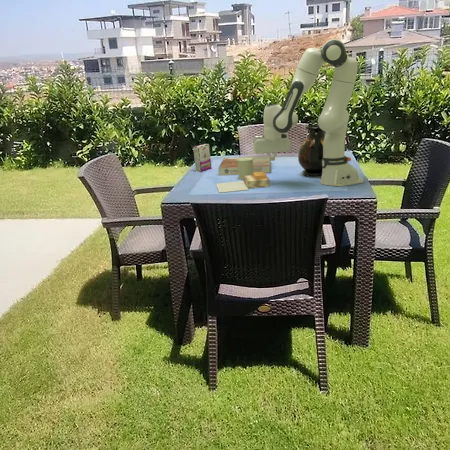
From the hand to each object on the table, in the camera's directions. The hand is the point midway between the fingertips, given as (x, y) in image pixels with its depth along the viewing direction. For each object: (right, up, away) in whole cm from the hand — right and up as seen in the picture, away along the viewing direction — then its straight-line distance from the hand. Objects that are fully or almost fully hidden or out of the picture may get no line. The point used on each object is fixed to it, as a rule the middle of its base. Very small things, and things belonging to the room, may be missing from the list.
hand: (272, 160), depth 244 cm
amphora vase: (+28, -6, +17) cm, 33 cm away
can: (-13, -8, +20) cm, 25 cm away
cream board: (-22, -15, +2) cm, 27 cm away
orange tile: (-7, -9, +2) cm, 11 cm away
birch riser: (-8, -13, +3) cm, 16 cm away
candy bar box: (-40, +1, +51) cm, 65 cm away
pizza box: (-12, 0, +45) cm, 47 cm away
